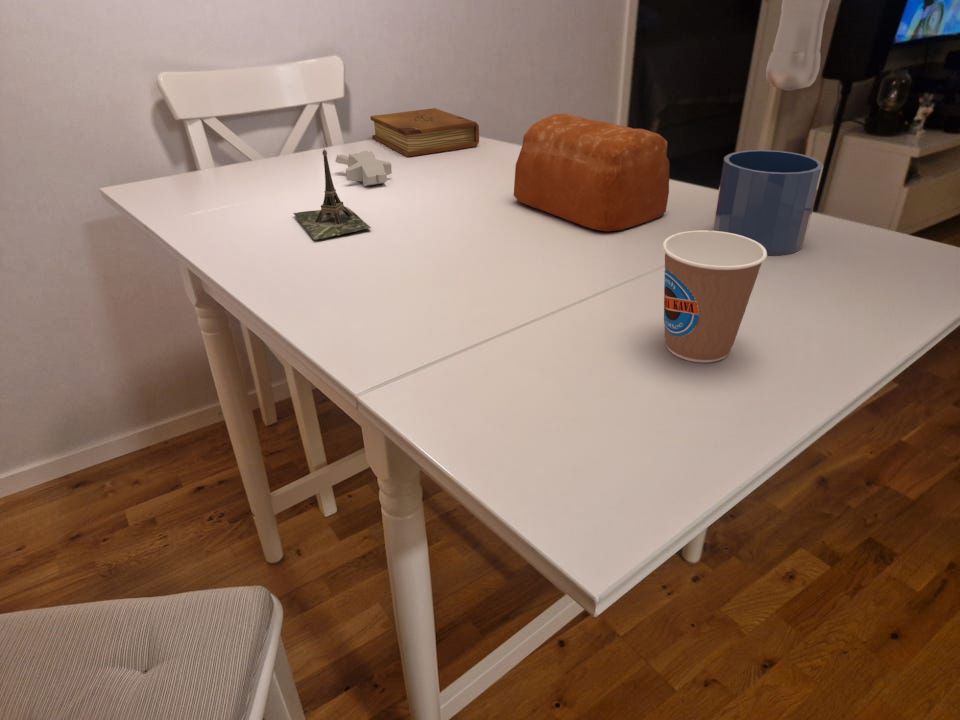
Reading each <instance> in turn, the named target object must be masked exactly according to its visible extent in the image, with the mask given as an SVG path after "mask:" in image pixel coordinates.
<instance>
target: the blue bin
mask: <svg viewBox="0 0 960 720" xmlns="http://www.w3.org/2000/svg"><path fill="white" fill-rule="evenodd" d="M823 169H824V164H823V162H822V161H821V160H819V159H817V158H815V157H814V156H813V157H812V156H809V155H806V154H802V153H796V152H793V151H784V150H771V149H751V150H750V149H749V150H748V149H747V150H741V151H735V152H731V153H729V154H727V155H725V156H724V157H723V161H722V167H721V174H720V179H719V184H718V192H717V196H716V203H715V210H714V214H713V215H714V216H713V222H712V228H711V231H721V232H728V233H733V234H737V235H741V236H744V237H747V238H750V239H752V240H754V241H756V242H758V243H760V244H761V245H762V246H763V247H764V248H765V249H766V252H767V257H768V256H772V257H773V256H786V255H789V254H790V255H791V254H793V253H797V252H799V251H800V250H802V249H803V247H804V245H805V242H806V239H807V235H808V231H809V227H810V223H811V218H812V215H813V211H814V207H815V202H816V198H817V194H818V190H819V186H820V182H821V178H822V173H823ZM762 256H763V254H762Z"/></svg>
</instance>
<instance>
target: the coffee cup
mask: <svg viewBox="0 0 960 720" xmlns="http://www.w3.org/2000/svg"><path fill="white" fill-rule="evenodd" d="M662 249H663V252H664V279H663V280H664V283H663V284H664V285H663V293H664V294H663V324H664V338H665V346H666V349H667V350H668V351H669V352H670V353H671V354H672V355H674V356H676V357H677V358H680V359H682V360H685V361H688V362H693V363H705V364H706V363H715V362H719V361H721V360H723V359H725V358H727V356H728V355H729V354H730V351H731V348H733V346H734V344H735V341H736V338H737V335H738V332H739V329H740V326H741V323H742V321H743V318H744V315H745V313H746V310H747V306H748V304H749V301H750V298H751V295H752V292H753V289H754V287H755V284H756V280H757V279H758V278H757V277H758V275H759V272H760V269H761V267H762V263H763V262H764V261H765V260H766V259H767V257H768V256H767V252H766V249H765V248H764V247H763V246H762V245H761V244H760V243H758V242H756V241H754V240H752V239H750V238H747V237H744V236H741V235H737V234H733V233H728V232H721V231H712V230H708V229H707V230H706V229H705V230H704V229H703V230H701V229H700V230H699V229H698V230H689V231H681V232H678V233H674V234H672V235H670V236H668V237H667V238H666V239H665V240H664V241H663V242H662ZM762 254H763V255H762Z"/></svg>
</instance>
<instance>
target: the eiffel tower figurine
mask: <svg viewBox="0 0 960 720" xmlns="http://www.w3.org/2000/svg"><path fill="white" fill-rule="evenodd" d="M322 146H323V147H325V143H322ZM321 153H322V156H323V167H324V183H325V185H324V187H325V188H324V191H323V192H324V198H323V201H322V202H323V203H322V204H321V205H320V209H318V210H307V211H299V212H293V215H294V216H295V217H296V219H297V220H298V221H299V223H301V225H302V226H303V228H304V229H305V230H306V231H307V232H308V234H309V235H310V237H311V238H312V239H313V240H314V241H316V240H322V239H327V238H332V237H335V236H341V235H344V234H350V233H353V232H358V231H362V230H366V229H372V227H371V226H370V224H367V223H366V222H365V221H364V220H363V219H362V218H361V217H360V216H359V215H358V214H356V213H355V212H354V211H353V210H352V209H350V208H349V207H348V206H345V205H344V201H342V200H341V199H340V197H339V195H338V193H337V189H336V188H335V186H334V182H333V179H332V173H331V169H330V165H329V160H328V152H327V150H326V149H325V148H323V150H322V152H321Z"/></svg>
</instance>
